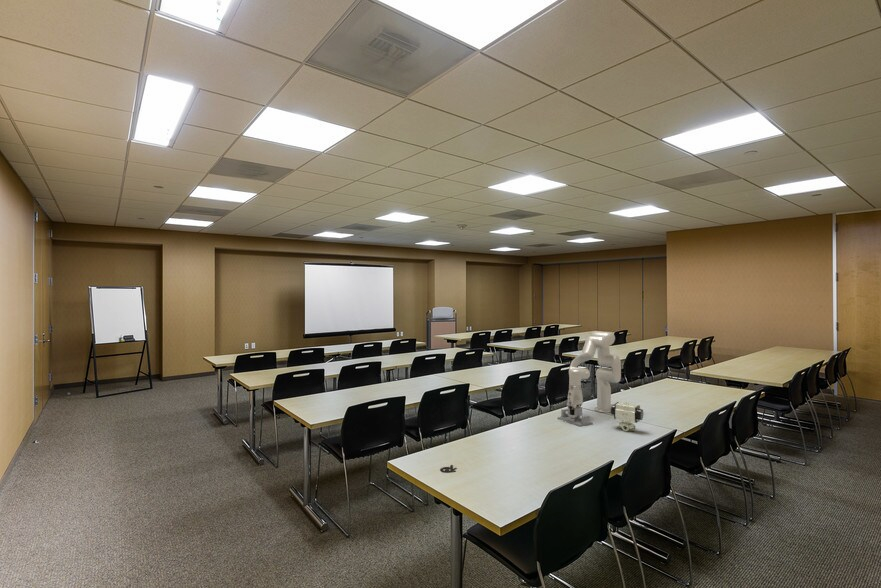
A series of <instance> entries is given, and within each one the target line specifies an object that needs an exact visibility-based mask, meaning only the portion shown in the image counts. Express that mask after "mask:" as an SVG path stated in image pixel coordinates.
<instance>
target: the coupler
mask: <svg viewBox="0 0 881 588" xmlns="http://www.w3.org/2000/svg"><path fill="white" fill-rule="evenodd" d="M571 407H572V405H571ZM567 409H568V415H570V409H569V407H568V406H567ZM573 409H574V415H571V416H574V417H580V416H583V407H582V406H581V407H578V406H576V405H574V408H573Z"/></svg>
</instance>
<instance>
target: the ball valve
mask: <svg viewBox="0 0 881 588" xmlns="http://www.w3.org/2000/svg"><path fill="white" fill-rule="evenodd" d="M613 404H614V405H612V404H611V405H612V406H611V412H610V414H611V416H613V417H614V418H613V419H614V420H620V421H619V422H618V428H619V429H621V430H622V431H624V432H628V431H630V432H632V431H635V430H636V424H637V423H639V422H640V421H642V420H643V419H644V409H642V408H641V406H640V404H639V405H638V404H633V403H629V402H628V401H625V402H619V401H616V402H615V403H613ZM634 423H635V424H634Z"/></svg>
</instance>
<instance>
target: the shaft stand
mask: <svg viewBox="0 0 881 588" xmlns="http://www.w3.org/2000/svg"><path fill="white" fill-rule="evenodd" d="M560 415H561V416H558V417H557V420H559V421H562V420H563V422H565V421H566V422H565V423H569V424H572V425H575V426H577V427H579V428H580V427H584V426H585V427H586V426H589V425H594V423H593V422H592V421H590V415H588V414H585V415H582V416H580V417H574V416H571V415H568V408H561V411H560Z"/></svg>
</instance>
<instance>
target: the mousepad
mask: <svg viewBox="0 0 881 588" xmlns="http://www.w3.org/2000/svg"><path fill="white" fill-rule="evenodd" d="M439 470H440V472H441V473H447V474H449V473H456V472H457V467H454V466H453V464H450V466H444V467H441V468H440V469H439Z"/></svg>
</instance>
